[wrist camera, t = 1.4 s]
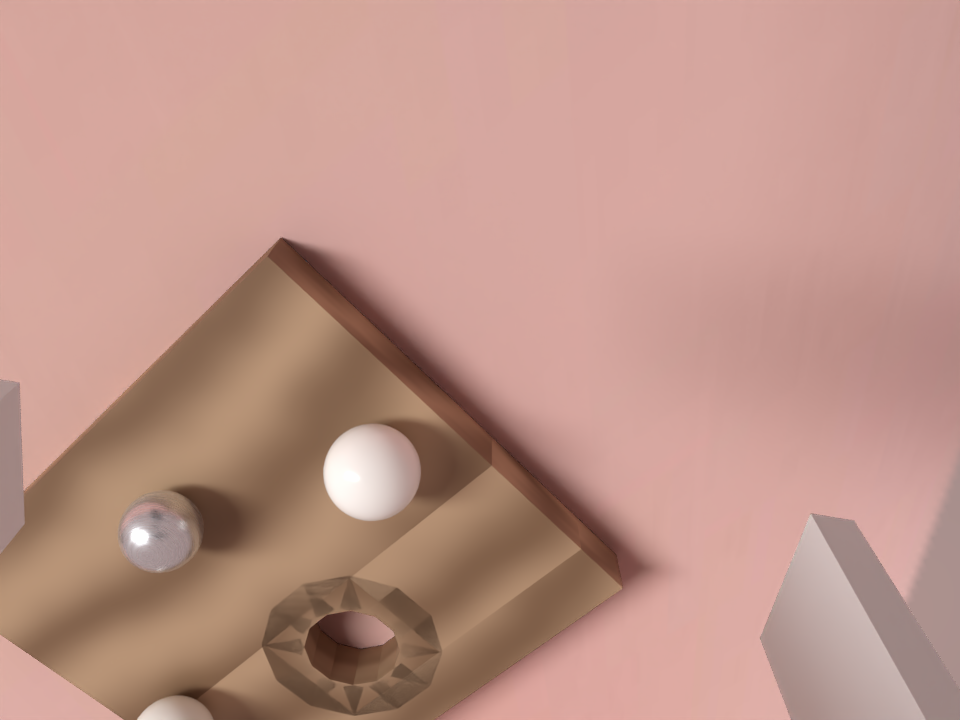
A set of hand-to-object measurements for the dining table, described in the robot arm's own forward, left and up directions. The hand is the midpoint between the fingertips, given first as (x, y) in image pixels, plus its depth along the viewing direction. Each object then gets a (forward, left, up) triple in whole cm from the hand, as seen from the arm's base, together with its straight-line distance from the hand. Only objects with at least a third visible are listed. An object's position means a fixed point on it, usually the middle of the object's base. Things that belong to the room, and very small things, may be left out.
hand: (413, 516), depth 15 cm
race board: (+8, -19, -24) cm, 31 cm away
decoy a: (+6, -10, -19) cm, 22 cm away
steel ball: (+2, -19, -19) cm, 27 cm away
